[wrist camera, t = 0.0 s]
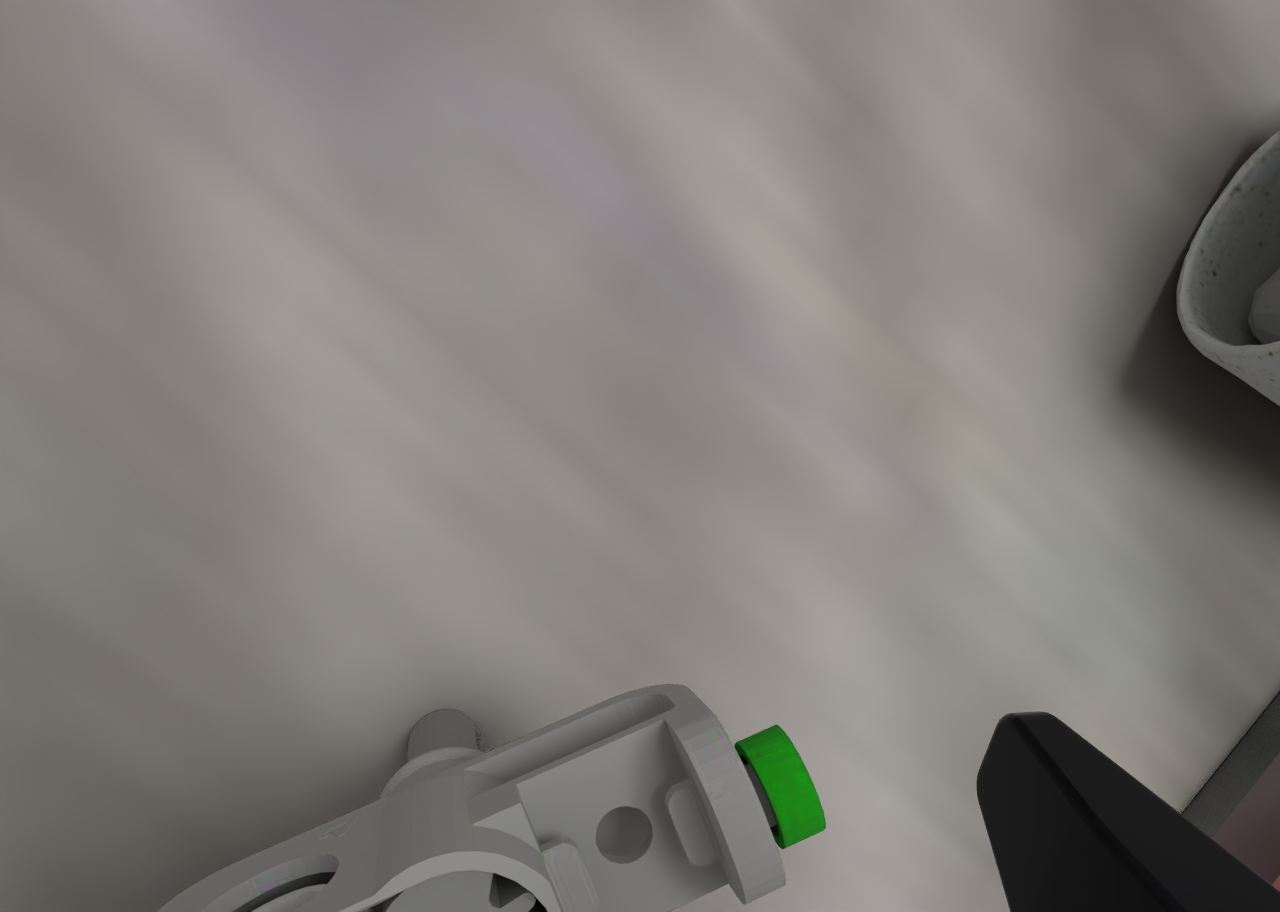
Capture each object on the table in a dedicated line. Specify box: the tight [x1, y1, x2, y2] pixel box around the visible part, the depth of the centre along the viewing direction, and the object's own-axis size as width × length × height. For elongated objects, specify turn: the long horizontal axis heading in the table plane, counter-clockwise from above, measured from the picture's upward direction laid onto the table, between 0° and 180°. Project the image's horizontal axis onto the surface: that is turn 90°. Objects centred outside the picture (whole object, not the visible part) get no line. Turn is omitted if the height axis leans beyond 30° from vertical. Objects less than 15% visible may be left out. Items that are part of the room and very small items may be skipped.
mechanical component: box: [157, 684, 826, 912], centre depth 19 cm, size 3×10×10 cm, turn 111°
